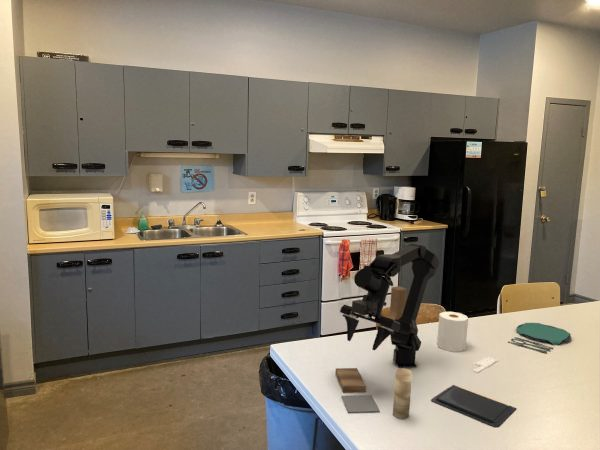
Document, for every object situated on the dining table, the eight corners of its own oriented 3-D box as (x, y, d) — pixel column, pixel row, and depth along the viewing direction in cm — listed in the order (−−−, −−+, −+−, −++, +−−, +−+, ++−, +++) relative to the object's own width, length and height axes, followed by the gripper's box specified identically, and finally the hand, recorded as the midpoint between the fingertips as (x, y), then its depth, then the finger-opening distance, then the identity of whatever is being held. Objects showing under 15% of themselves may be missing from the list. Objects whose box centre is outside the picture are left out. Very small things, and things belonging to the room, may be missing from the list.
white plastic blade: (463, 369, 165) (463, 366, 164) (484, 357, 175) (484, 355, 175) (477, 374, 161) (477, 371, 161) (498, 362, 171) (498, 359, 171)
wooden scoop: (386, 334, 192) (389, 291, 189) (379, 331, 196) (382, 288, 193) (404, 331, 197) (407, 288, 194) (396, 327, 200) (399, 285, 198)
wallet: (429, 396, 142) (454, 380, 152) (428, 402, 142) (453, 386, 153) (496, 425, 128) (519, 405, 138) (495, 431, 128) (518, 411, 139)
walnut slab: (335, 374, 156) (335, 368, 156) (356, 373, 157) (356, 368, 157) (343, 392, 144) (343, 386, 144) (365, 392, 145) (366, 385, 145)
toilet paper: (462, 354, 176) (465, 322, 174) (433, 347, 181) (436, 316, 179) (467, 345, 185) (470, 314, 183) (440, 339, 190) (443, 309, 188)
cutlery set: (577, 336, 198) (577, 331, 198) (551, 357, 177) (551, 351, 177) (527, 324, 212) (527, 319, 212) (497, 342, 191) (498, 336, 191)
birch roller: (405, 410, 136) (409, 368, 134) (411, 418, 131) (414, 375, 130) (390, 410, 135) (393, 368, 133) (395, 419, 131) (398, 375, 129)
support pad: (371, 396, 143) (371, 394, 143) (379, 412, 134) (380, 410, 134) (341, 396, 142) (341, 395, 142) (348, 413, 133) (348, 411, 133)
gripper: (338, 282, 148) (321, 331, 146) (390, 296, 136) (373, 350, 133) (357, 291, 156) (341, 338, 154) (407, 305, 144) (392, 356, 141)
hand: (360, 345), depth 145 cm, fingers open, 9 cm apart
